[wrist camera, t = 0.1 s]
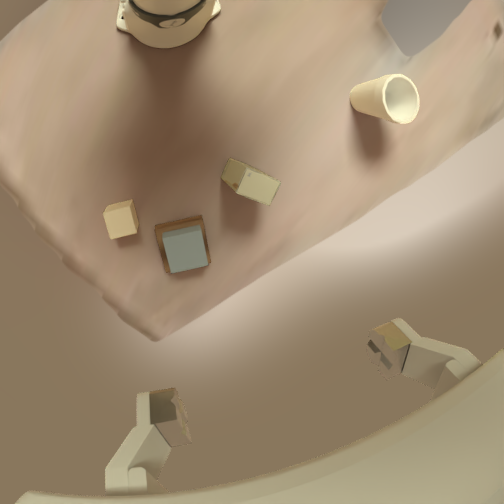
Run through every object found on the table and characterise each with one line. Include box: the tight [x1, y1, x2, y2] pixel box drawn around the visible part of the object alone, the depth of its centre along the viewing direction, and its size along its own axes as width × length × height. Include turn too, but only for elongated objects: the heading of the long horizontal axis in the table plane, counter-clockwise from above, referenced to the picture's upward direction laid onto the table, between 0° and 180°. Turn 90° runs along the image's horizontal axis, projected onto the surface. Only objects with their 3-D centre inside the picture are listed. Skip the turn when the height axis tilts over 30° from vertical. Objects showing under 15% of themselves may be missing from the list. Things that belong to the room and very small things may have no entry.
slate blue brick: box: [162, 225, 208, 274], centre depth 55 cm, size 7×7×3 cm
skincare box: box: [221, 158, 281, 206], centre depth 51 cm, size 6×4×12 cm
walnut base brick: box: [155, 215, 211, 273], centre depth 58 cm, size 9×9×3 cm
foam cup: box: [350, 74, 419, 124], centre depth 50 cm, size 10×9×13 cm
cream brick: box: [103, 199, 139, 240], centre depth 51 cm, size 5×5×5 cm
